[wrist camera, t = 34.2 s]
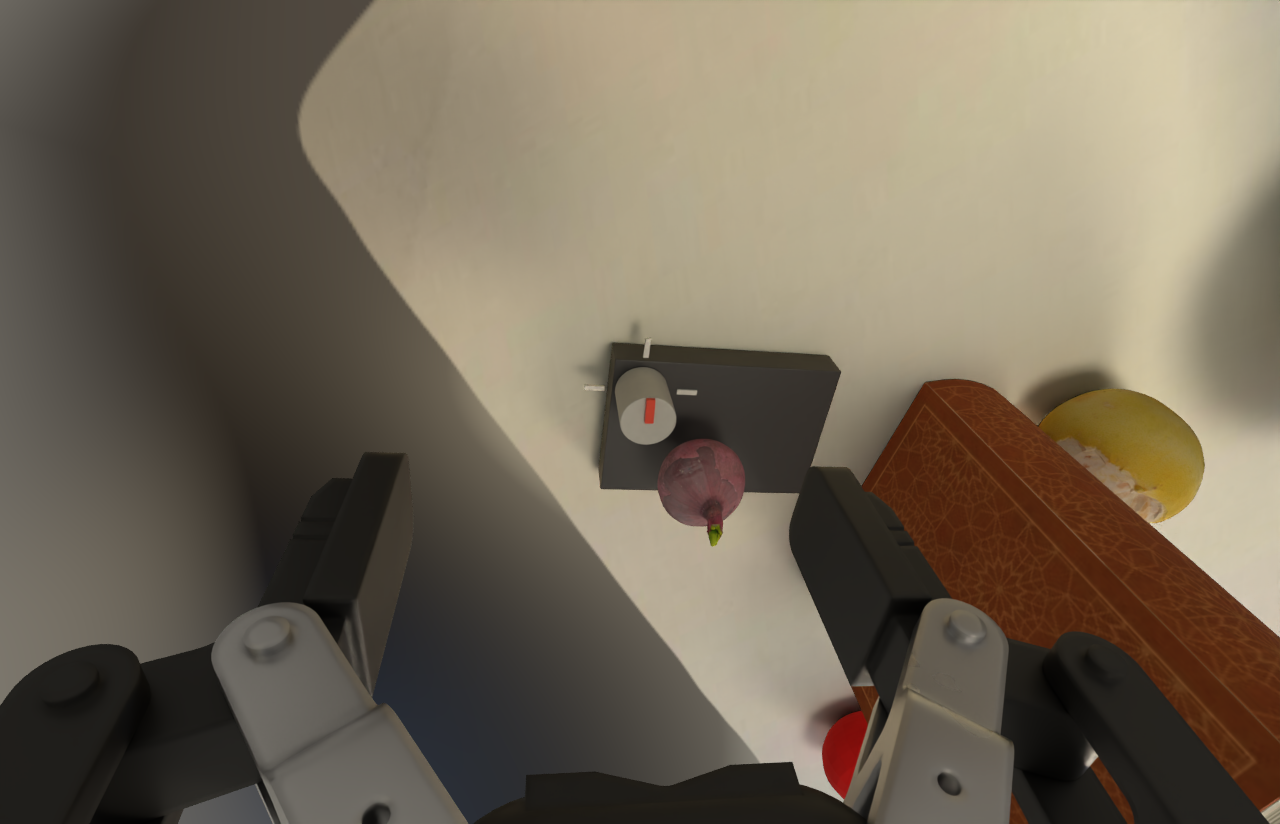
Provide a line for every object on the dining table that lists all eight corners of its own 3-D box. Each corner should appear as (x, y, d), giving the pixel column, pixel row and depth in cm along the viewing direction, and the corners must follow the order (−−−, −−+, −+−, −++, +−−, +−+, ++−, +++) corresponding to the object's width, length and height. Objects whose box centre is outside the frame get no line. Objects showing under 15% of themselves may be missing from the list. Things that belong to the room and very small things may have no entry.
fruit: (1071, 347, 49) (1177, 418, 41) (1157, 396, 53) (1270, 470, 45) (979, 447, 54) (1058, 529, 45) (1064, 486, 57) (1152, 569, 49)
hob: (574, 468, 50) (574, 490, 48) (586, 318, 43) (588, 335, 41) (792, 474, 53) (802, 495, 51) (835, 334, 46) (849, 350, 44)
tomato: (872, 678, 70) (915, 771, 62) (914, 715, 75) (959, 805, 66) (792, 722, 73) (824, 816, 64) (838, 755, 78) (873, 846, 69)
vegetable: (709, 400, 45) (745, 490, 37) (745, 458, 48) (786, 554, 40) (634, 440, 46) (653, 537, 38) (674, 495, 49) (700, 595, 41)
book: (879, 591, 62) (1102, 991, 37) (804, 580, 60) (987, 996, 35) (1017, 392, 51) (1469, 771, 26) (931, 371, 49) (1333, 759, 24)
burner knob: (664, 411, 45) (674, 447, 42) (613, 412, 45) (618, 448, 41) (669, 366, 43) (680, 399, 40) (616, 366, 43) (622, 399, 39)
